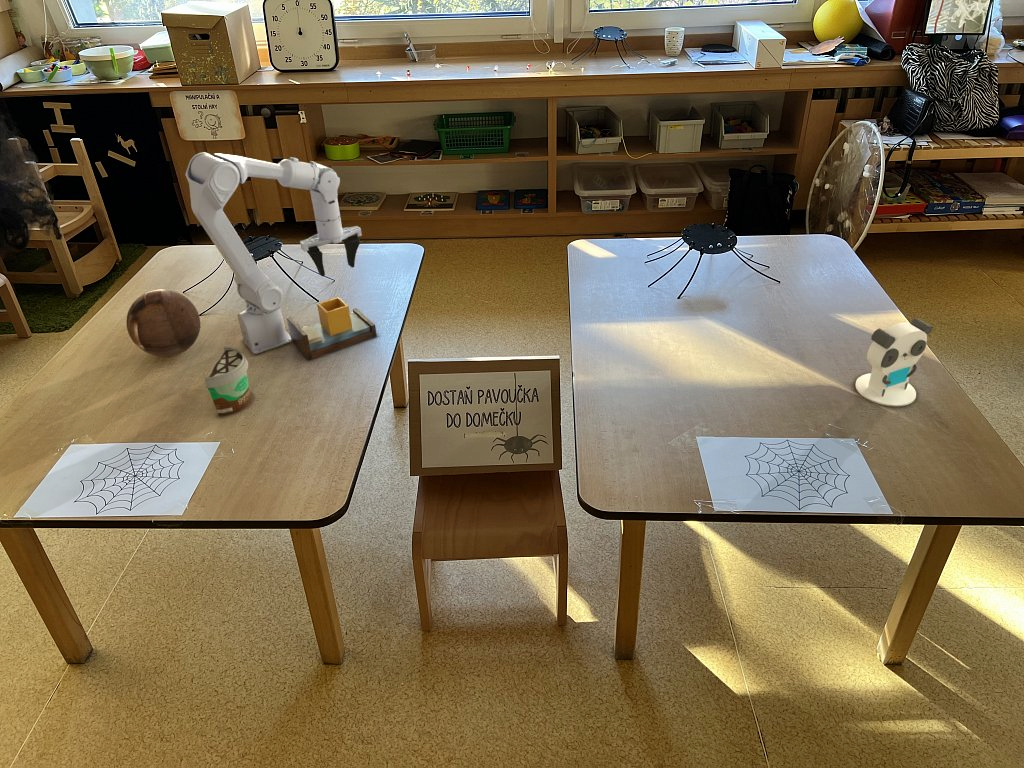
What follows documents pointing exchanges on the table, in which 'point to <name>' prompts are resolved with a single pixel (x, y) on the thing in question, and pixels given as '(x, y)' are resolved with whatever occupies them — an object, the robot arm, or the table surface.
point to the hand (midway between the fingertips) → (336, 270)
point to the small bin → (334, 316)
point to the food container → (229, 383)
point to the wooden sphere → (163, 323)
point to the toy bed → (319, 342)
